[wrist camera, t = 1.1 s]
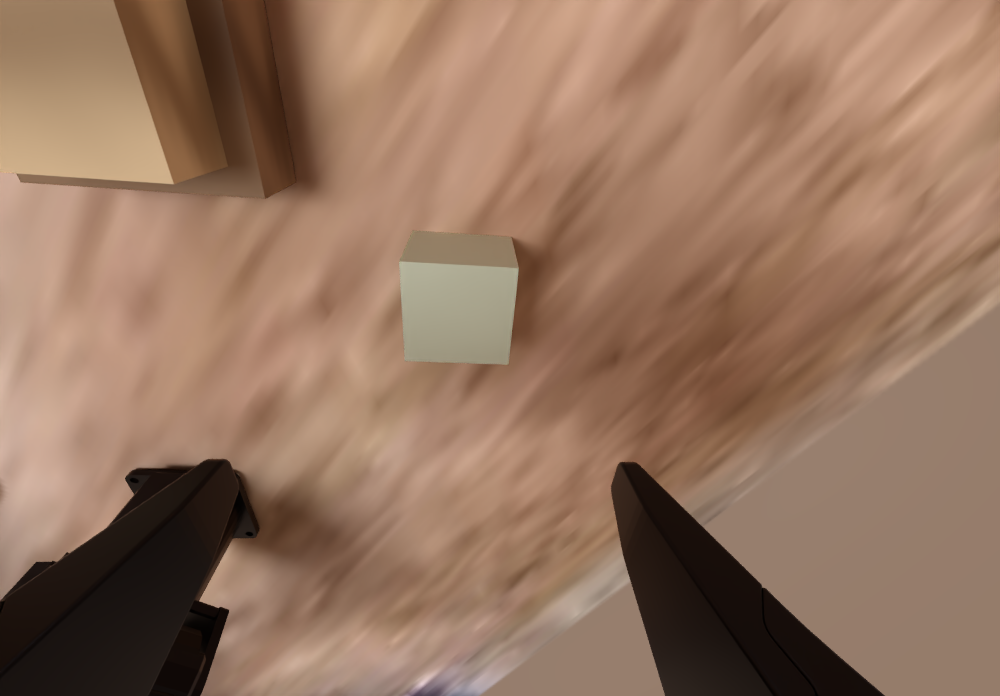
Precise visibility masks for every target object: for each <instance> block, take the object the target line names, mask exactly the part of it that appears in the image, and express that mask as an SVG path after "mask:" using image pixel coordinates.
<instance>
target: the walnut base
mask: <svg viewBox="0 0 1000 696" xmlns="http://www.w3.org/2000/svg"><path fill="white" fill-rule="evenodd" d="M186 4H187V8H188V12H189V16H190V20H191V24H192V27H193V31H194V35H195V39H196V43H197V47H198V51H199V55H200V59H201V63H202V66H203V70H204V74H205V78H206V82H207V86H208V90H209V94H210V98H211V102H212V105H213V109H214V113H215V117H216V121H217V125H218V129H219V133H220V137H221V141H222V144H223V148H224V152H225V156H226V160H227V164H228V167H225V168H222V169H219V170H216V171H213V172H210V173H207V174H204V175H201V176H197V177H194V178H191V179H188V180H185V181H182V182H179V183H176V184H163V183H148V182H134V181H119V180H105V179H90V178H76V177H61V176H47V175H32V174H18V173H16V174H17V176H18V178H19V180H20V182H24V183H38V184H53V185H68V186H83V187H98V188H113V189H128V190H143V191H158V192H173V193H187V194H202V195H217V196H232V197H247V198H262V199H266V198H268V197H269V196H271V195H273V194H275V193H277V192H279V191H281V190H282V189H284V188H286V187H288V186H290V185H292V184H294V183H295V182H296V178H295V173H294V167H293V161H292V156H291V150H290V144H289V139H288V133H287V127H286V122H285V116H284V111H283V105H282V99H281V94H280V88H279V82H278V77H277V71H276V65H275V60H274V54H273V48H272V43H271V37H270V32H269V26H268V20H267V15H266V9H265V3H264V0H186Z"/></svg>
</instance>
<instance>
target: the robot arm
mask: <svg viewBox="0 0 1000 696" xmlns="http://www.w3.org/2000/svg"><path fill="white" fill-rule="evenodd" d="M125 480H126V482H127V483H128V485H129V487H130V488H131V490H132V492H133V493H134V496H133V497H132V498H131V499H130V501H129V502H128V503H127V504H126V505H125V507H124V508H123V509H122V510H121V511H120V513H119V514H118V515H117V516H116V517H115V519H114V520H113V521H112V522H111V523H110V525H109V526H108V527H107V528H106V529H104V530H103V531H101V532H100V533H98V534H97V535H96V536H94V537H93V538H91V539H90V540H88V541H87V542H85V543H84V544H82V545H81V546H80V547H78V548H77V549H75V550H74V551H72V552H71V553H68V552H67V553H66V554H65V555H64V556H63V557H62V558H61V559H60V560H59V561H58V562H55V561H52V562H36V563H35V564H34V565H33V566H32V567H31V568H30V569H29V570H28V572H27V573H26V574H25V575H24V576H23V577H22V578H21V579H20V580H19V581H18V582H17V583H16V585H15V586H14V587H13V588H12V589H11V590H10V591H9V592H8V593H7V594H6V595H5V596H4V598H3V599H2V600H1V601H0V696H200V695H201V693H202V691H203V688H204V686H205V683H206V680H207V677H208V674H209V671H210V668H211V665H212V662H213V659H214V656H215V653H216V650H217V647H218V644H219V641H220V638H221V635H222V631H223V628H224V625H225V622H226V619H227V616H228V613H229V610H228V609H225V608H222V607H219V608H217V607H214V606H211V605H208V604H205V603H203V602H200V601H199V600H200V598H201V596H202V594H203V592H204V591H205V589H206V587H207V585H208V583H209V581H210V579H211V578H212V576H213V574H214V572H215V570H216V568H217V566H218V565H219V563H220V561H221V559H222V557H223V555H224V553H225V552H226V550H227V548H228V546H229V544H230V542H231V540H232V539H233V538H255V537H256V536H257V534H258V532H259V527H258V524H257V521H256V519H255V516H254V514H253V511H252V509H251V506H250V503H249V501H248V498H247V496H246V493H245V491H244V488H243V485H242V483H241V480H240V478H239V476H238V475H237V474H236V473H234V471H233V468H232V466H231V464H230V462H229V461H228V460H227V459H208V460H205V461H203V462H202V463H200V464H199V465H197V466H196V467H194V468H193V469H191V470H190V471H172V470H132V471H131V472H130V473H129V474H128V475H127V476H126V478H125ZM611 493H612V499H613V504H614V510H615V515H616V520H617V525H618V531H619V536H620V541H621V547H622V551H623V556H624V560H625V563H626V567H627V570H628V574H629V577H630V580H631V584H632V587H633V590H634V594H635V597H636V600H637V604H638V606H639V610H640V613H641V617H642V620H643V624H644V627H645V630H646V634H647V637H648V640H649V644H650V647H651V650H652V653H653V657H654V660H655V663H656V667H657V670H658V673H659V677H660V680H661V683H662V687H663V690H664V693H665V696H885V695H883V694H882V693H881V692H880V691H879V690H878V689H876V688H875V687H874V686H873V685H872V684H871V683H869V682H868V681H867V680H866V679H865V678H864V677H862V676H861V675H860V674H859V673H858V672H857V671H855V670H854V669H853V668H852V667H851V666H849V665H848V664H847V663H846V662H845V661H844V660H843V659H841V658H840V657H839V656H838V655H837V654H836V653H835V652H833V651H832V650H831V649H830V648H829V647H828V646H826V644H824V643H823V642H822V641H821V640H820V639H819V638H818V637H817V636H815V635H814V634H813V633H812V632H811V631H810V630H809V629H807V628H806V627H805V626H804V625H803V624H802V623H801V622H800V621H799V620H798V619H797V618H796V617H795V616H794V615H793V614H792V613H791V612H789V611H788V610H787V609H786V608H785V607H784V606H783V605H782V604H781V603H780V602H779V601H778V600H777V599H776V598H775V597H774V596H773V595H772V594H771V593H770V592H769V591H768V590H767V589H765V588H762V585H761V584H760V583H759V582H758V581H757V580H756V579H755V578H754V577H753V576H752V575H751V574H750V573H749V572H748V571H747V570H746V569H745V568H744V567H743V566H742V565H741V564H740V563H739V562H738V561H737V560H736V559H735V558H734V557H733V556H732V555H731V554H730V553H729V552H728V551H727V550H726V549H725V548H724V547H722V545H721V544H719V543H718V542H717V541H716V540H715V539H714V538H713V537H712V536H711V535H710V534H709V533H708V532H707V531H706V530H705V529H704V528H703V527H702V526H701V525H700V524H699V523H698V522H697V521H696V520H695V519H694V518H693V517H692V516H691V515H690V514H689V513H688V512H687V511H686V510H685V509H684V508H683V507H682V506H681V505H680V504H679V503H678V502H677V501H676V500H675V499H674V498H673V497H672V496H671V495H670V494H668V493H667V492H666V491H665V490H664V489H663V488H662V487H661V486H660V485H659V484H658V483H657V482H656V481H655V480H654V479H653V478H652V477H651V476H650V475H649V474H648V473H647V472H646V471H645V470H644V469H643V468H642V467H641V466H640V465H639V464H637V463H635V462H620V463H619V464H618V466H617V469H616V472H615V475H614V478H613V482H612V486H611Z"/></svg>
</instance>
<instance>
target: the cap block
mask: <svg viewBox="0 0 1000 696" xmlns="http://www.w3.org/2000/svg"><path fill="white" fill-rule="evenodd" d="M399 267H400V285H401V302H402V320H403V338H404V356H405V361H417V362H446V363H474V364H503V365H508V364H509V355H510V345H511V336H512V327H513V318H514V308H515V299H516V290H517V280H518V271H519V267H518V263H517V258H516V254H515V250H514V246H513V242H512V238H511V237H507V236H491V235H475V234H459V233H443V232H427V231H412V233H411V235H410V238H409V240H408V242H407V245H406V247H405V249H404V252H403V254H402V256H401V259H400V261H399Z"/></svg>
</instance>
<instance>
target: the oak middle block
mask: <svg viewBox="0 0 1000 696" xmlns="http://www.w3.org/2000/svg"><path fill="white" fill-rule="evenodd" d="M225 167H228V164H227V160H226V156H225V152H224V148H223V144H222V141H221V137H220V133H219V129H218V125H217V121H216V117H215V113H214V109H213V105H212V102H211V98H210V94H209V90H208V86H207V82H206V78H205V74H204V70H203V66H202V63H201V59H200V55H199V51H198V47H197V43H196V39H195V35H194V31H193V27H192V24H191V20H190V16H189V12H188V8H187V4H186V0H0V172H3V173H18V174H32V175H47V176H61V177H76V178H90V179H105V180H119V181H134V182H148V183H163V184H176V183H179V182H182V181H185V180H188V179H191V178H194V177H197V176H201V175H204V174H207V173H210V172H213V171H216V170H219V169H222V168H225Z"/></svg>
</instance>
